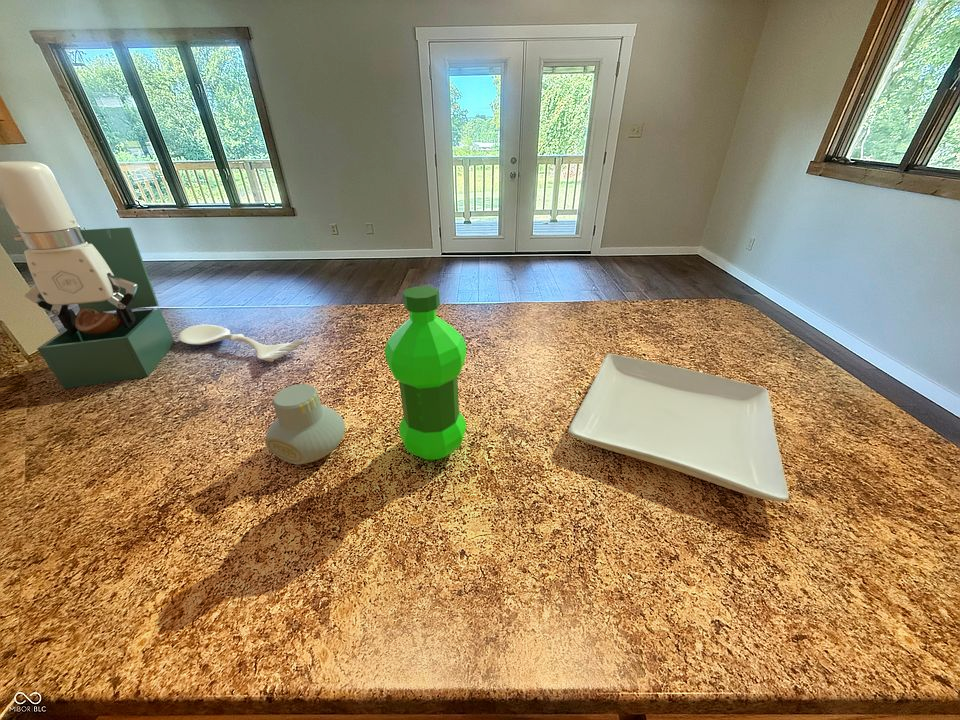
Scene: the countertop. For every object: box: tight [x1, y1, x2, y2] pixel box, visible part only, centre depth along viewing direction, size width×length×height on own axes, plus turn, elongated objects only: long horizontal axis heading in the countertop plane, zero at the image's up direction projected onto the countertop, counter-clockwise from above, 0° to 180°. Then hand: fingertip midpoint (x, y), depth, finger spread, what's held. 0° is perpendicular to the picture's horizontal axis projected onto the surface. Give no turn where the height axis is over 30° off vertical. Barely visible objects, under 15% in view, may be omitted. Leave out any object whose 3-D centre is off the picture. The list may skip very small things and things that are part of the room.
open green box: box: [36, 307, 176, 390], centre depth 78 cm, size 16×14×9 cm
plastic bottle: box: [384, 285, 467, 461], centre depth 52 cm, size 10×10×25 cm
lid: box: [77, 226, 160, 313], centre depth 79 cm, size 16×14×1 cm
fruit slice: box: [74, 308, 122, 334], centre depth 76 cm, size 8×7×5 cm
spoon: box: [178, 324, 305, 363], centre depth 85 cm, size 9×32×4 cm, turn 68°
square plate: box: [568, 353, 790, 503], centre depth 61 cm, size 27×27×4 cm
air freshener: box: [264, 383, 346, 465], centre depth 56 cm, size 11×8×10 cm
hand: (103, 327), depth 76 cm, fingers closed on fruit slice, 8 cm apart
